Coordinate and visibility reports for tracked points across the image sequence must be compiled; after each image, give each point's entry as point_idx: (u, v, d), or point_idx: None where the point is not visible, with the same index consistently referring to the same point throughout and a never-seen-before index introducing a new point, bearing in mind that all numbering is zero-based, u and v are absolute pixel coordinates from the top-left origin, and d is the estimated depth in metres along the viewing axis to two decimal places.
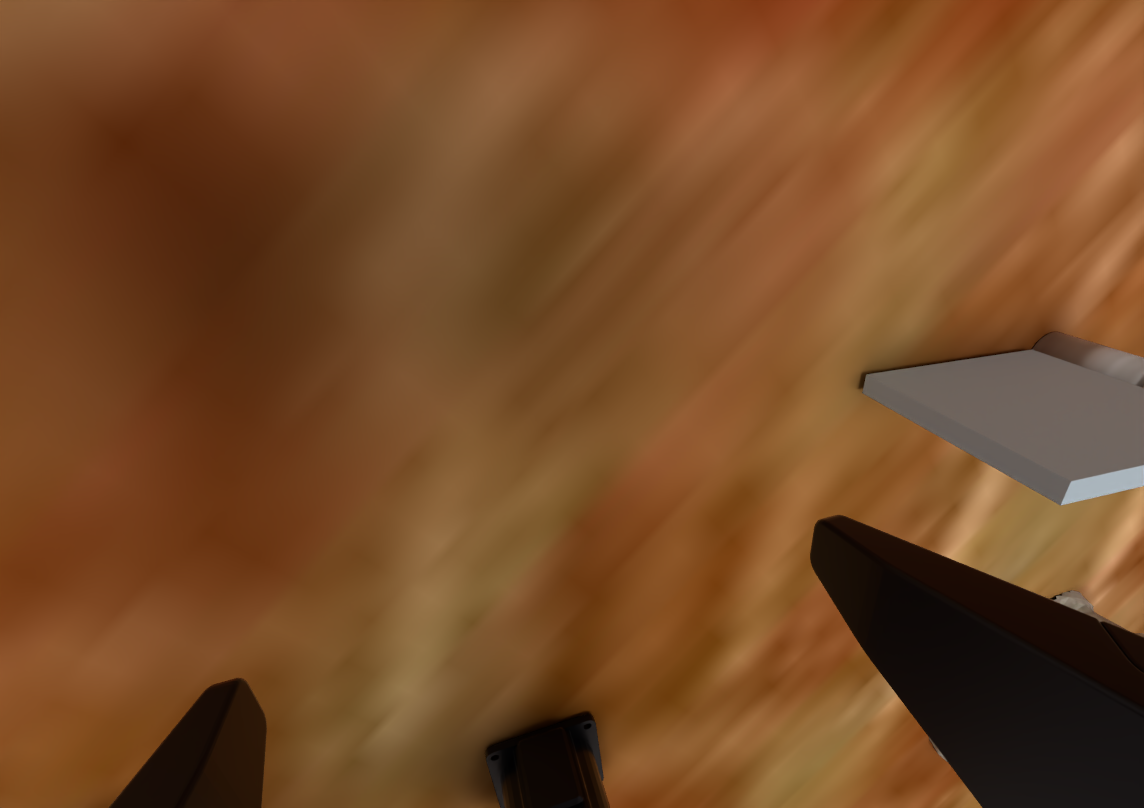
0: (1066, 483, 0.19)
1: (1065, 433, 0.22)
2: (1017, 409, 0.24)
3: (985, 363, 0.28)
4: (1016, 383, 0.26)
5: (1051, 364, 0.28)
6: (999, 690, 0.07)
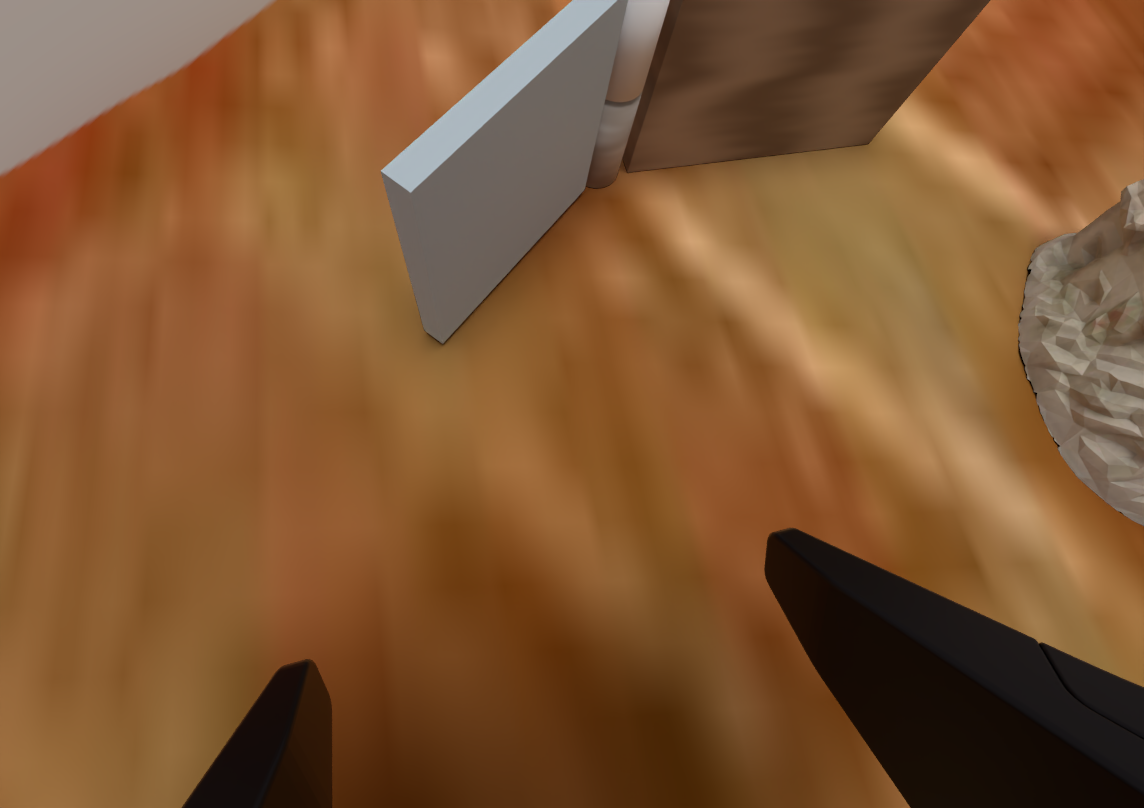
0: (387, 177, 0.15)
1: None
2: None
3: None
4: None
5: None
6: (938, 712, 0.07)
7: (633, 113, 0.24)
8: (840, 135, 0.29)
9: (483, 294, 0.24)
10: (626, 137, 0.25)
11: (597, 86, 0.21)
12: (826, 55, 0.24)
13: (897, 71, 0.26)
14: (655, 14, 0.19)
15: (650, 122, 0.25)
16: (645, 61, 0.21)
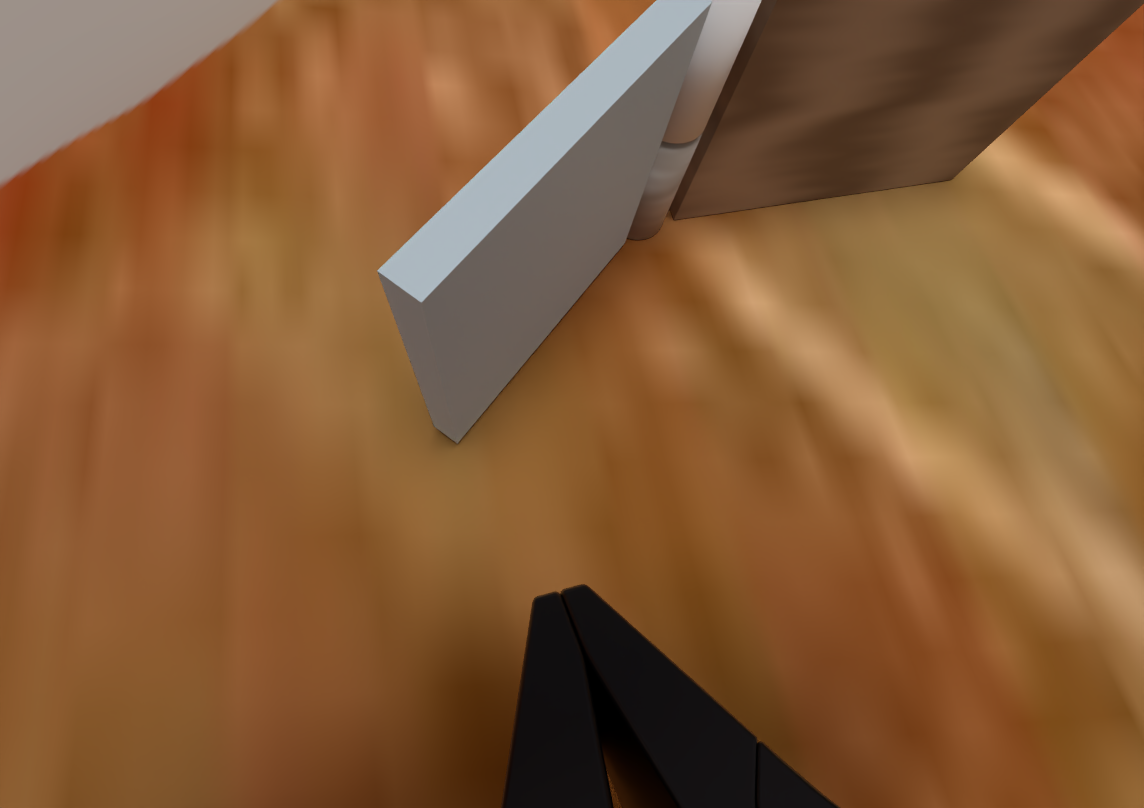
0: (387, 278, 0.10)
1: None
2: None
3: None
4: None
5: None
6: None
7: (691, 155, 0.19)
8: (922, 171, 0.25)
9: (506, 379, 0.19)
10: (679, 182, 0.21)
11: (656, 127, 0.16)
12: (928, 81, 0.19)
13: (1004, 98, 0.21)
14: (735, 35, 0.15)
15: (708, 164, 0.21)
16: (715, 94, 0.17)
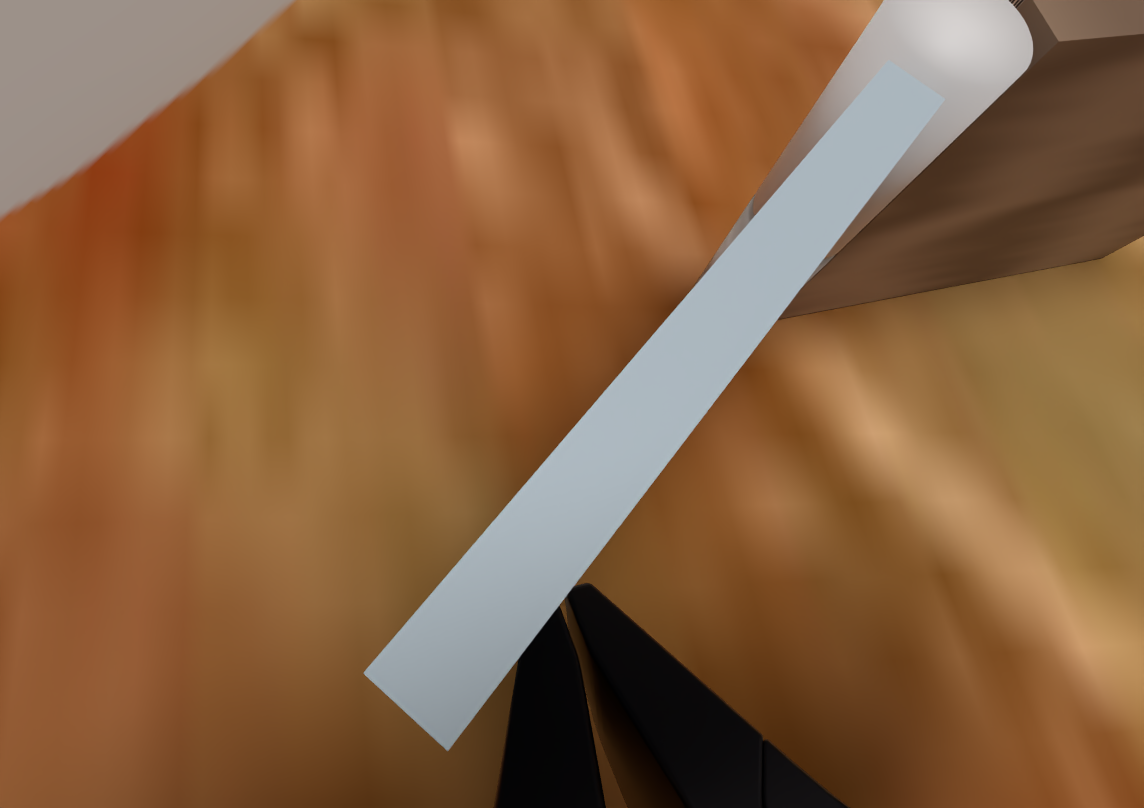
0: (383, 680, 0.05)
1: None
2: None
3: None
4: None
5: None
6: None
7: (822, 266, 0.14)
8: (1076, 253, 0.20)
9: None
10: None
11: None
12: None
13: None
14: (949, 139, 0.10)
15: (833, 267, 0.15)
16: (883, 206, 0.11)
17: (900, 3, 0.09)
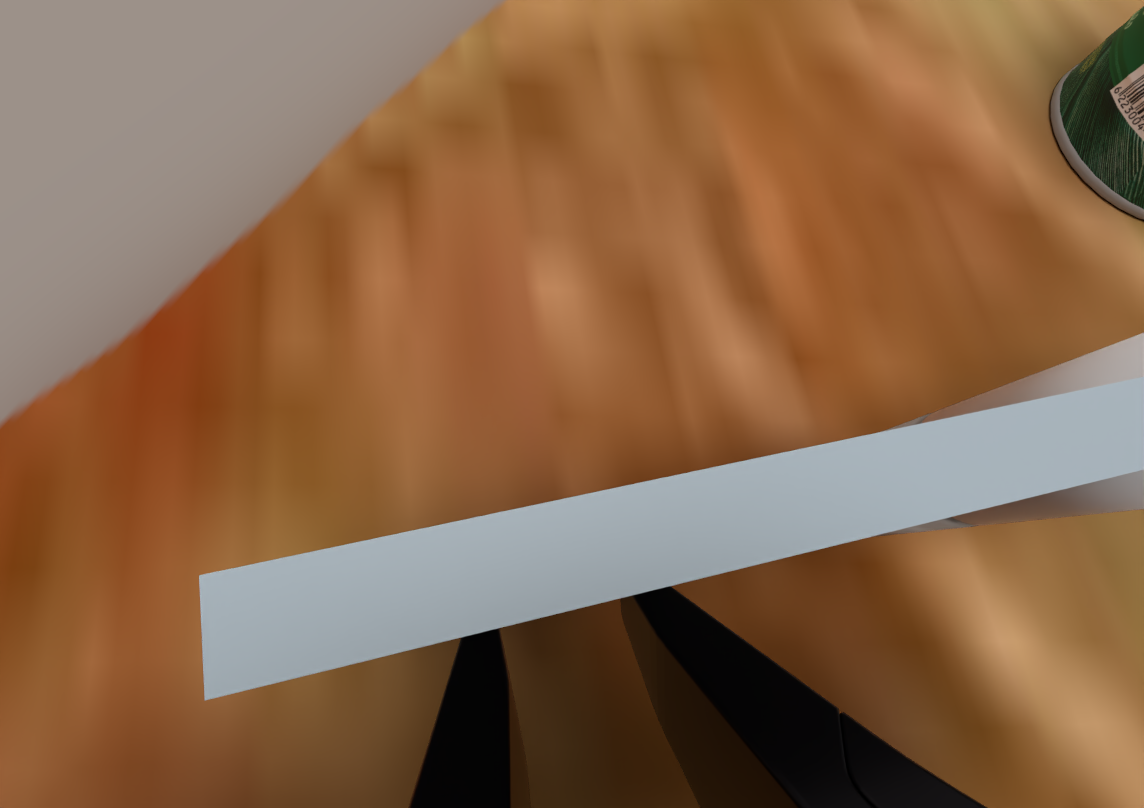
0: (212, 594, 0.05)
1: None
2: None
3: None
4: None
5: None
6: (739, 785, 0.06)
7: None
8: None
9: None
10: None
11: None
12: None
13: None
14: None
15: None
16: (1061, 515, 0.09)
17: None
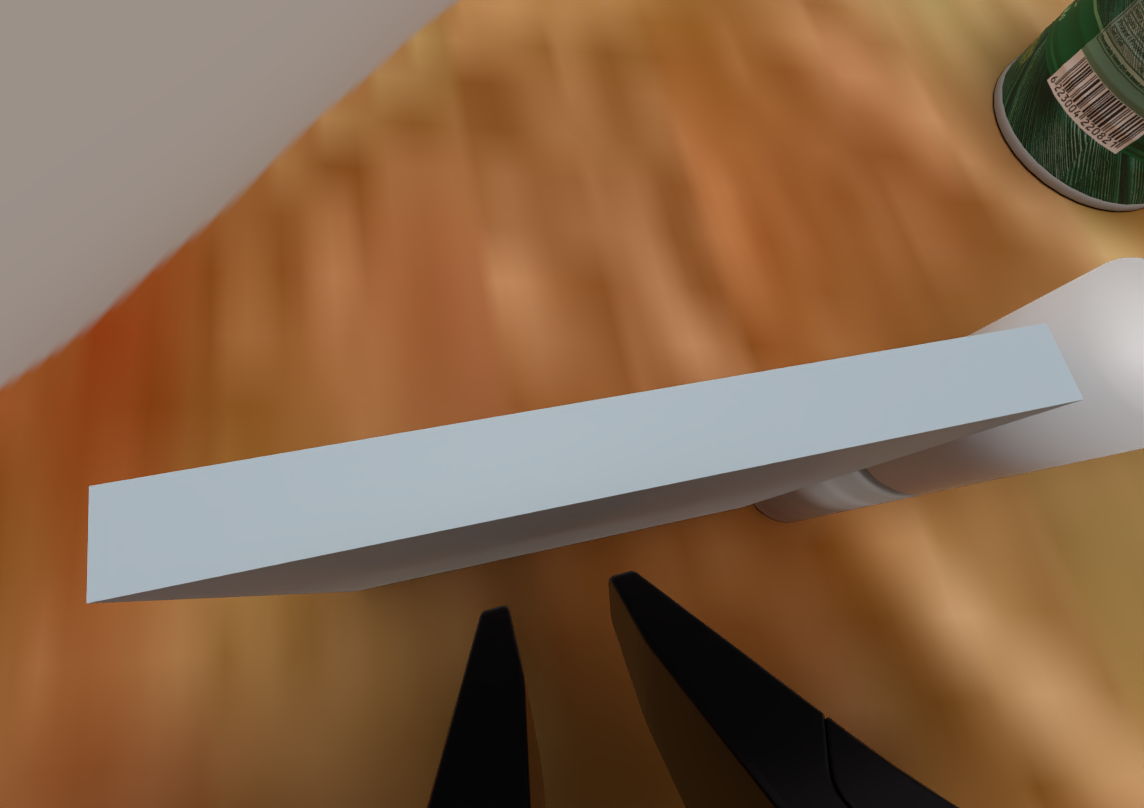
0: (103, 506, 0.05)
1: None
2: None
3: None
4: None
5: None
6: (724, 790, 0.06)
7: None
8: None
9: (465, 566, 0.14)
10: None
11: (854, 466, 0.09)
12: None
13: None
14: (1084, 452, 0.08)
15: None
16: (984, 478, 0.10)
17: (1106, 280, 0.07)
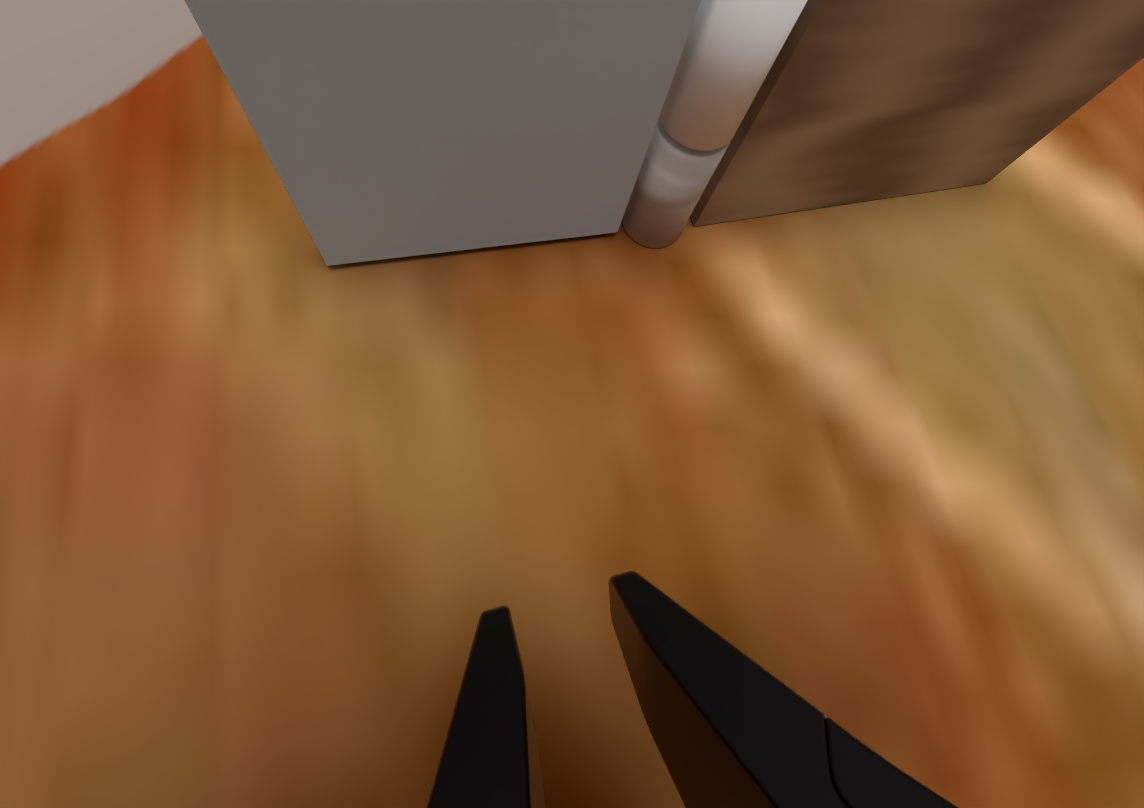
0: None
1: None
2: None
3: None
4: None
5: None
6: (724, 790, 0.06)
7: (718, 162, 0.18)
8: (958, 174, 0.23)
9: (405, 248, 0.19)
10: (703, 190, 0.19)
11: (636, 90, 0.15)
12: (977, 82, 0.18)
13: (1053, 100, 0.20)
14: (745, 36, 0.13)
15: (734, 169, 0.19)
16: (723, 104, 0.15)
17: None
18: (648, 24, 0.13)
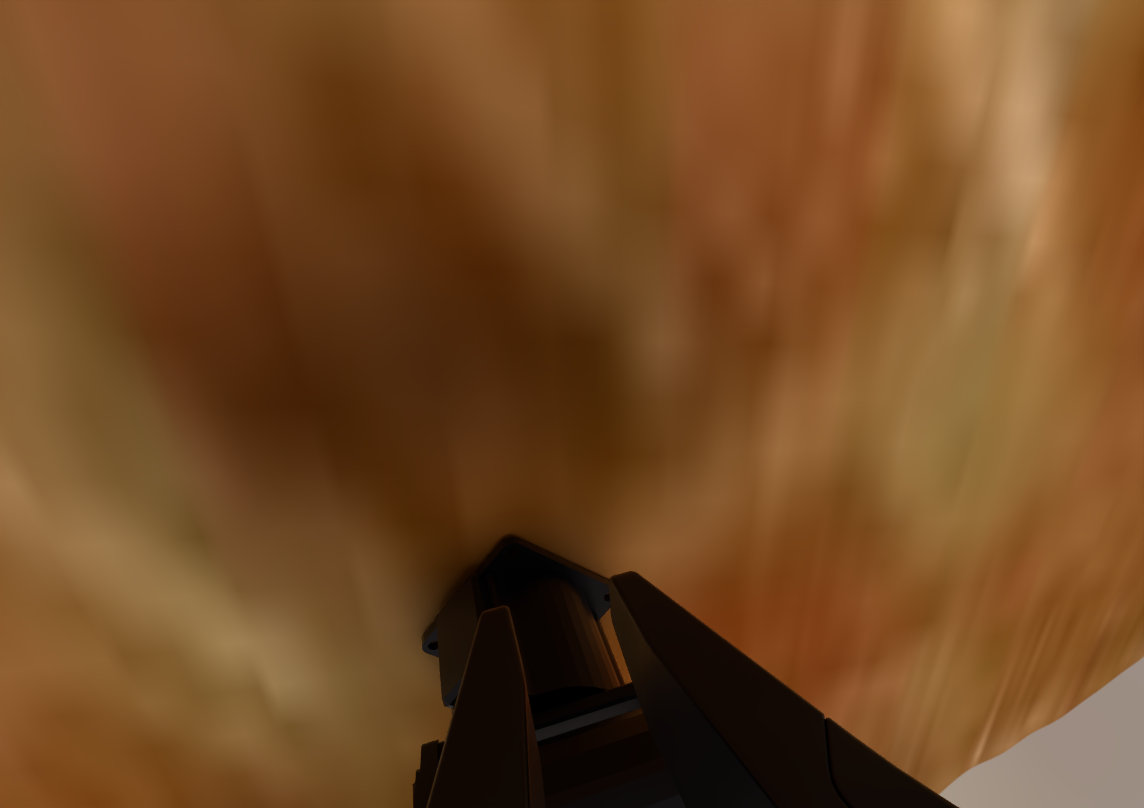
0: None
1: None
2: None
3: None
4: None
5: None
6: (724, 790, 0.06)
7: None
8: None
9: None
10: None
11: None
12: None
13: None
14: None
15: None
16: None
17: None
18: None
